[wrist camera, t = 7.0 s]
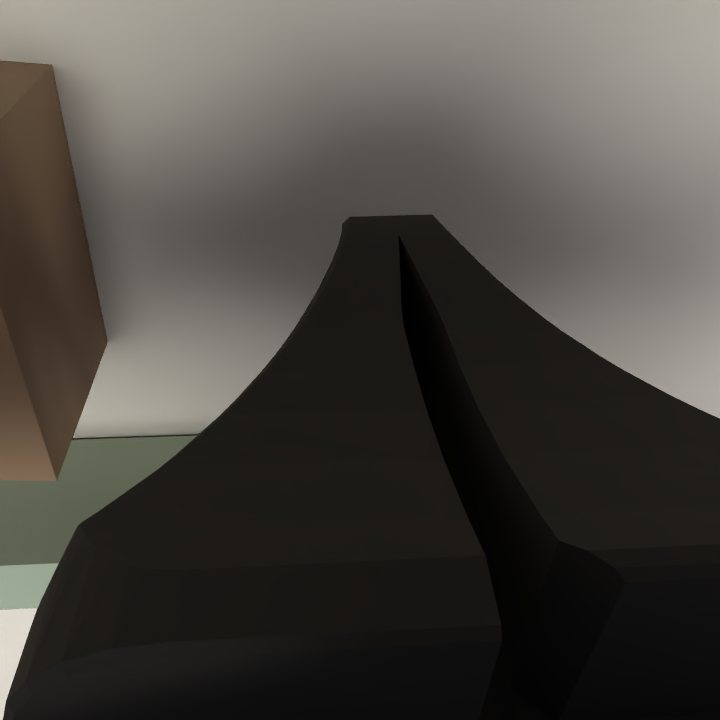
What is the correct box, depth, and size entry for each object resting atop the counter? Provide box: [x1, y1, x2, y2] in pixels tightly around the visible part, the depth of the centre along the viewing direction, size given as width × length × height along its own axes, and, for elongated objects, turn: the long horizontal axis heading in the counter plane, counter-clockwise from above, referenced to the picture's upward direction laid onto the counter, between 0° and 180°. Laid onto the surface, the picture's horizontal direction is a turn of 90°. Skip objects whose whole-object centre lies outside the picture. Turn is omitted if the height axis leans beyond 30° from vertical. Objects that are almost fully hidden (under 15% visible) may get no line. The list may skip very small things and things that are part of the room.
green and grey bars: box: [0, 435, 197, 610], centre depth 10 cm, size 13×18×3 cm
